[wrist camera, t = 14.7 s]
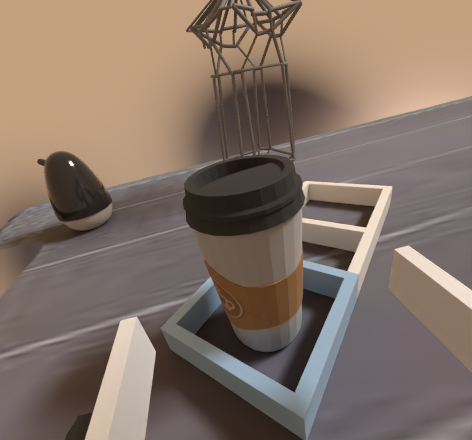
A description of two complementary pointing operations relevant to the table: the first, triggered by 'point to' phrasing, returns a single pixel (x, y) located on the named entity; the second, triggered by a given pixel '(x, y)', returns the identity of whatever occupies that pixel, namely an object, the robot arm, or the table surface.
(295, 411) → the gap frame
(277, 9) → the geometric lantern
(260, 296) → the coffee cup
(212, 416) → the table surface
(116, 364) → the robot arm
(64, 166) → the pump dispenser
